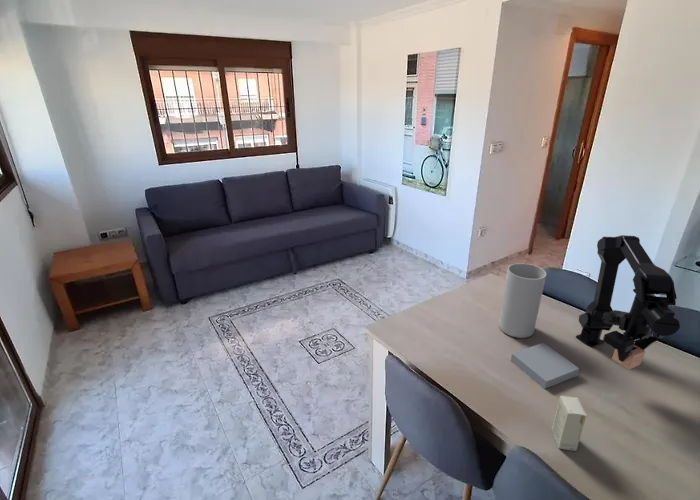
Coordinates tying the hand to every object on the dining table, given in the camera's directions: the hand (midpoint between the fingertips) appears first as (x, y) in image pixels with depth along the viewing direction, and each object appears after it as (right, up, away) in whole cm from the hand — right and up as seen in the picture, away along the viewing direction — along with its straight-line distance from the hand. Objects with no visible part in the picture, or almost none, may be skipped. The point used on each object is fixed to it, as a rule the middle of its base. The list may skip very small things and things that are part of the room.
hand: (627, 358), depth 108 cm
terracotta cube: (0, -1, 0) cm, 1 cm away
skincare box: (-26, -18, -12) cm, 34 cm away
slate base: (-18, -7, +13) cm, 23 cm away
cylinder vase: (-18, +2, +32) cm, 37 cm away
